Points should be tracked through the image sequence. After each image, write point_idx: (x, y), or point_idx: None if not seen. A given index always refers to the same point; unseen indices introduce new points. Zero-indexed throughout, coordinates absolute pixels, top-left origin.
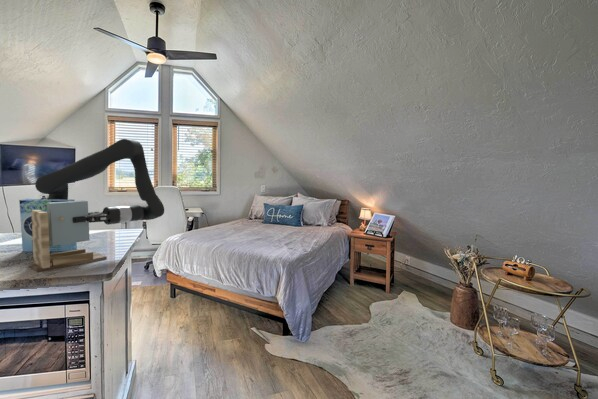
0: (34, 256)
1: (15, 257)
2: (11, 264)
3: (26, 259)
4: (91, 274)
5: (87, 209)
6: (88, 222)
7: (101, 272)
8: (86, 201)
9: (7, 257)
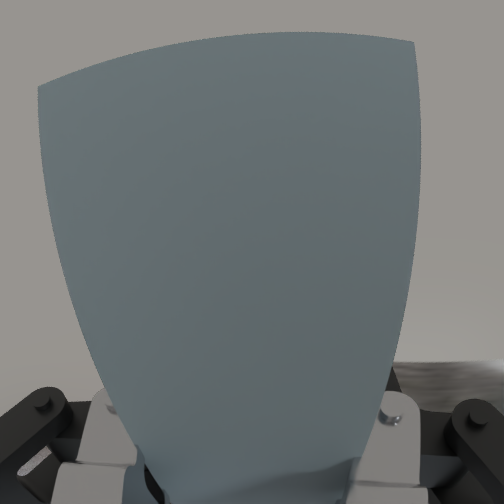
0: None
1: (484, 377)
2: (395, 371)
3: (443, 400)
4: (41, 451)
5: (92, 330)
6: (170, 499)
7: (26, 472)
8: (59, 92)
9: (491, 363)
